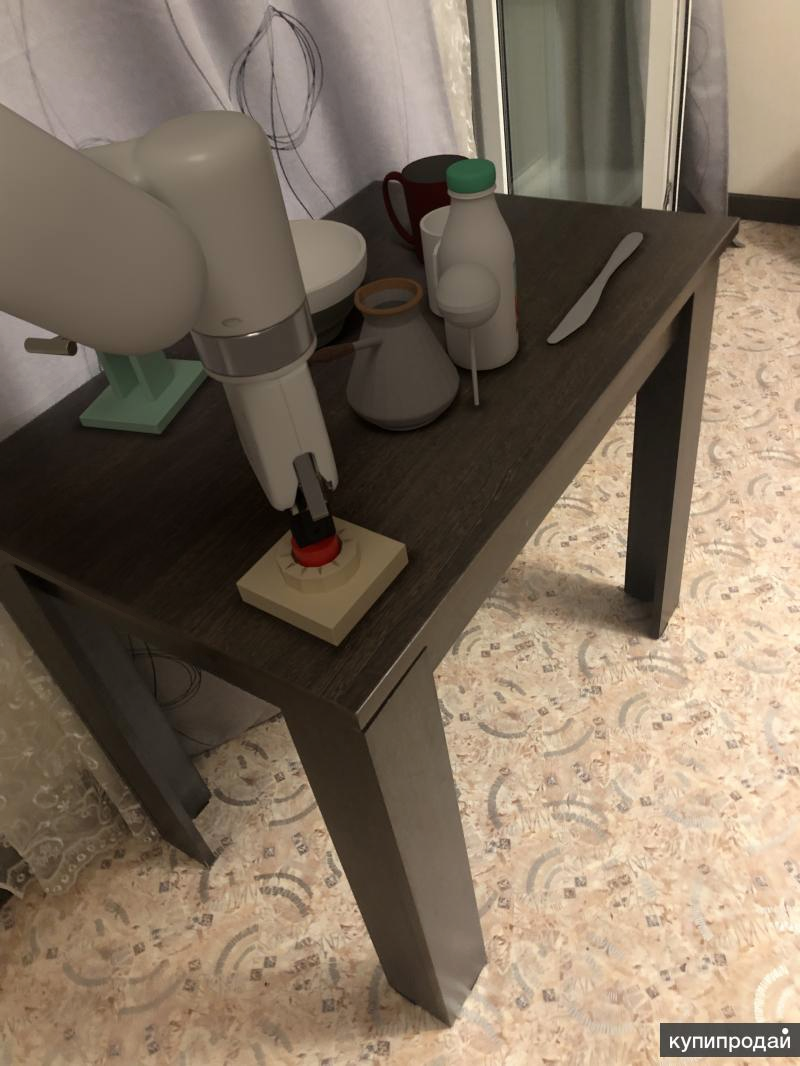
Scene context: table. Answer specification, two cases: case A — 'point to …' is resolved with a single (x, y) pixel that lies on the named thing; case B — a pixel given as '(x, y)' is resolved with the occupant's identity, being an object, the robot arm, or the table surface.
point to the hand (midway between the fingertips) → (314, 535)
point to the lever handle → (51, 346)
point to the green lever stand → (142, 391)
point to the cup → (433, 250)
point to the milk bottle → (480, 262)
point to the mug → (420, 193)
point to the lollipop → (468, 302)
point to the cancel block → (325, 582)
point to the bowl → (329, 271)
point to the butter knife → (595, 289)
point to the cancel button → (316, 552)
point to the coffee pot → (395, 359)
